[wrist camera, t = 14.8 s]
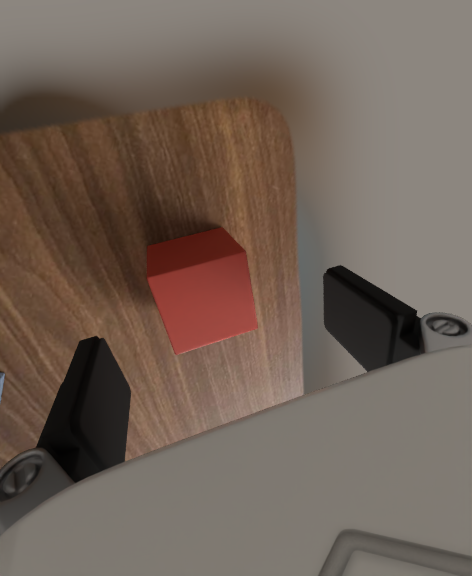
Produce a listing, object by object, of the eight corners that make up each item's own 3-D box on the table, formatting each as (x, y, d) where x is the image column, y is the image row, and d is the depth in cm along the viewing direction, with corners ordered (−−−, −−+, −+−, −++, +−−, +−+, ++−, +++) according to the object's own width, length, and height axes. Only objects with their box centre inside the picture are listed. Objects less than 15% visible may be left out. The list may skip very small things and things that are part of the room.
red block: (169, 310, 17) (175, 355, 13) (146, 245, 15) (146, 277, 11) (235, 291, 18) (258, 328, 14) (222, 226, 16) (246, 250, 12)
